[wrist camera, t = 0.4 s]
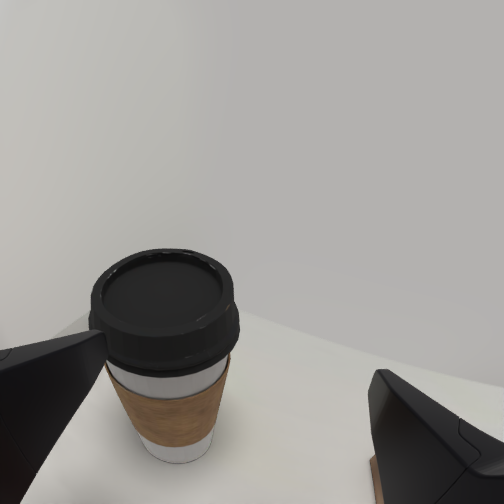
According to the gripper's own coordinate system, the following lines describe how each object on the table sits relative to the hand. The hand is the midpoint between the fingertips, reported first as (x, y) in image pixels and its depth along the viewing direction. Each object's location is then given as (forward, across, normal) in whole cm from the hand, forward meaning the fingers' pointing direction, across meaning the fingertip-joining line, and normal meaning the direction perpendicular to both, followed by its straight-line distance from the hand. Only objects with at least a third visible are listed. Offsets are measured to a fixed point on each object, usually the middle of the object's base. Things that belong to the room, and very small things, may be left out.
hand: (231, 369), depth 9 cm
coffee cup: (+8, +6, +14) cm, 18 cm away
